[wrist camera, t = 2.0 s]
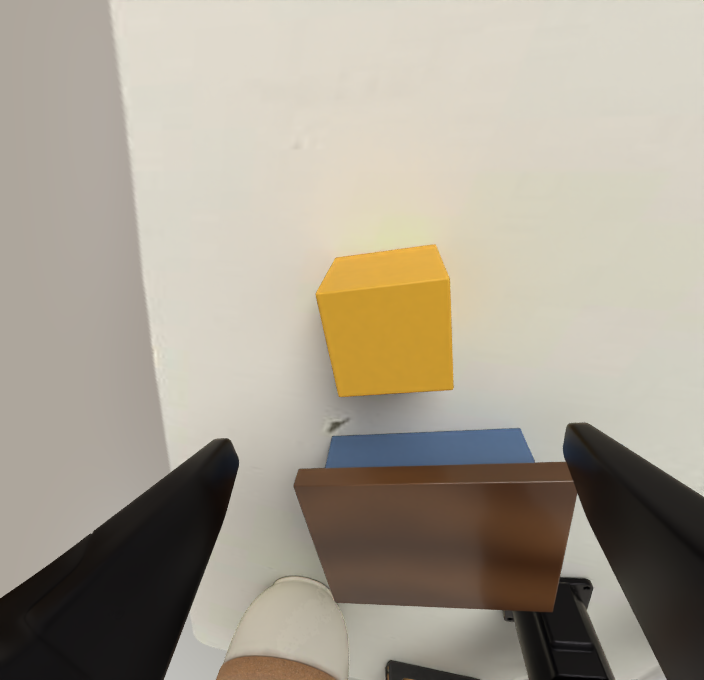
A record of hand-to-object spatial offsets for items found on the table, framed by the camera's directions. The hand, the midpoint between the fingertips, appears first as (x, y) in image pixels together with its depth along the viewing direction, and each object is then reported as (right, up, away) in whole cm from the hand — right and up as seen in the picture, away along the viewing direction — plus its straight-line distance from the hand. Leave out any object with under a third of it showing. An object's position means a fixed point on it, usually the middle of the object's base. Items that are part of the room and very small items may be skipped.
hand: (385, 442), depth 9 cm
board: (+4, -9, +12) cm, 15 cm away
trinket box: (-6, -22, +25) cm, 34 cm away
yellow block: (+1, +5, +9) cm, 10 cm away
